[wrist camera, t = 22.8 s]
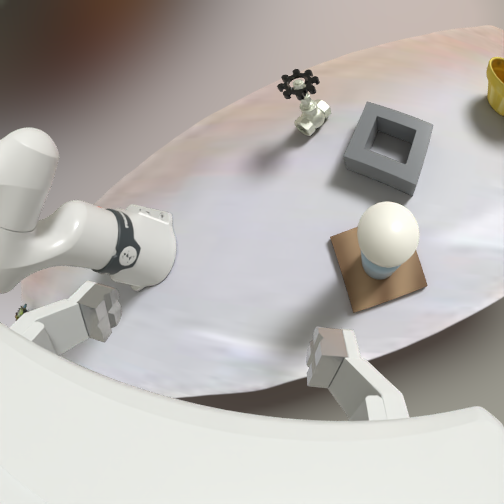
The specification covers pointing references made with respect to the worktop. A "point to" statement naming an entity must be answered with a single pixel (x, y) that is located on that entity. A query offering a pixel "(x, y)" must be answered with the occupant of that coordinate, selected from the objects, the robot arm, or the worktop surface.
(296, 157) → the worktop surface
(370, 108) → the housing
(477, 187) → the worktop surface
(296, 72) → the valve
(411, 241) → the blue bottle
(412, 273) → the board
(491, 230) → the worktop surface
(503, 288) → the worktop surface
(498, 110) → the plant pot
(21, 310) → the green leafy plant
